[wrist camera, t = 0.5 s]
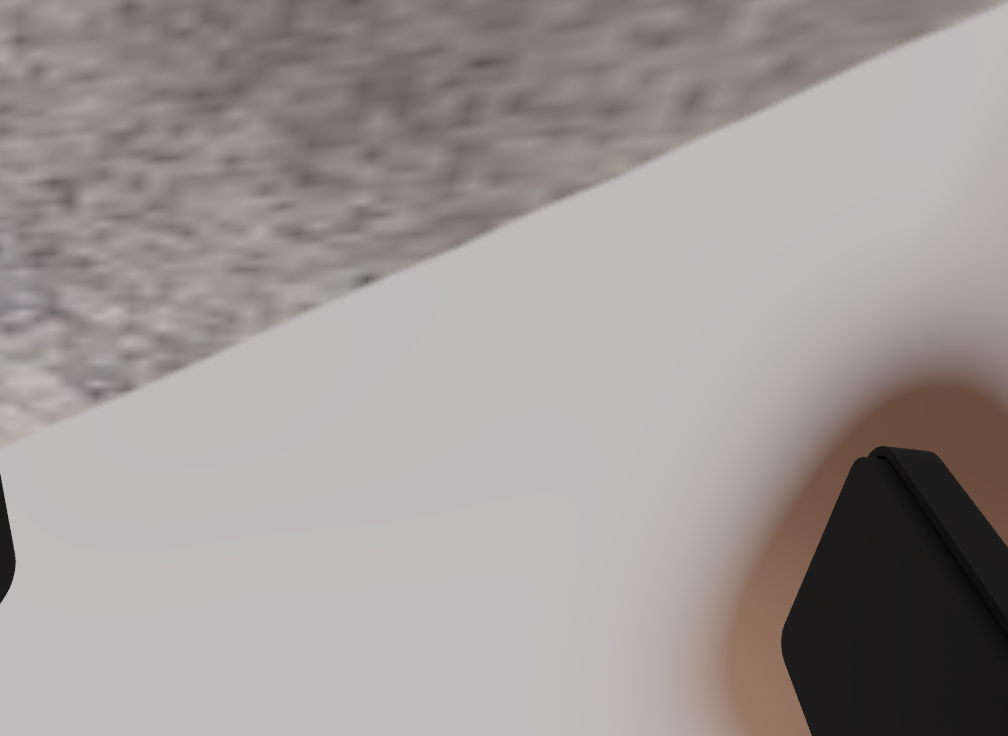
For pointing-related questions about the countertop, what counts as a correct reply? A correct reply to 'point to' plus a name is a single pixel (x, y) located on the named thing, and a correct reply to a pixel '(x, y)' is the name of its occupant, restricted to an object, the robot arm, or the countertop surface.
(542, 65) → the countertop surface
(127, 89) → the countertop surface
